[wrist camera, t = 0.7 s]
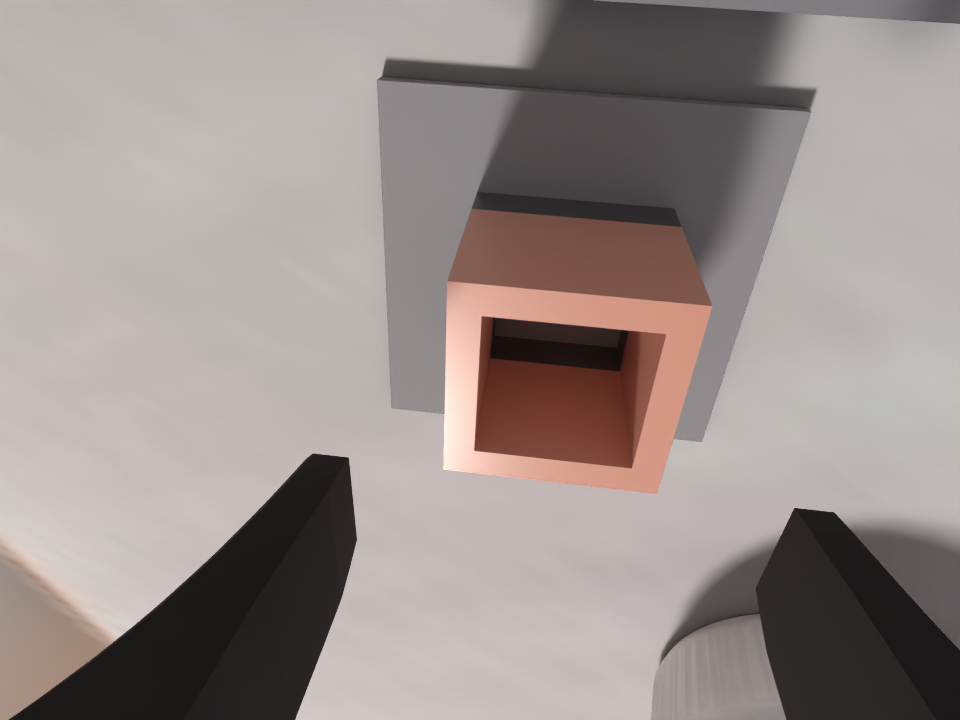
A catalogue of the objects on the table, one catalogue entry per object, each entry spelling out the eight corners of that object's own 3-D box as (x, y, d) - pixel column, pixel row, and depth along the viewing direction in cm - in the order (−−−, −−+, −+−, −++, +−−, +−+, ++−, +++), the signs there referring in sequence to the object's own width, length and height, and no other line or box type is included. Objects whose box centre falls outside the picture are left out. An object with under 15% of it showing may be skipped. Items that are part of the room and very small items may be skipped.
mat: (805, 107, 15) (810, 112, 14) (699, 433, 20) (701, 442, 20) (381, 76, 15) (376, 80, 15) (394, 400, 21) (391, 408, 21)
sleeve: (674, 208, 16) (712, 305, 12) (636, 369, 19) (656, 493, 15) (476, 191, 16) (447, 281, 12) (469, 353, 19) (443, 469, 15)
